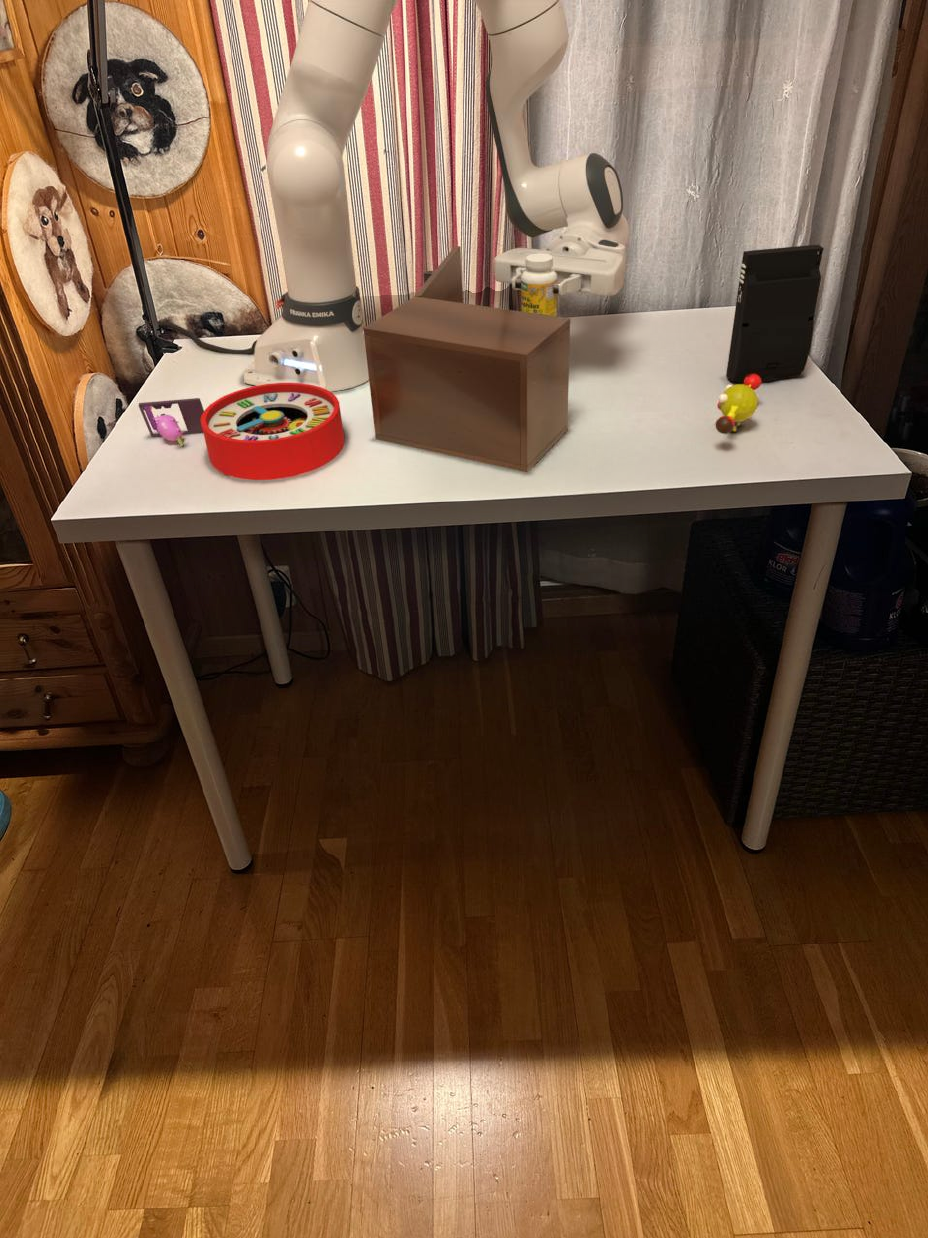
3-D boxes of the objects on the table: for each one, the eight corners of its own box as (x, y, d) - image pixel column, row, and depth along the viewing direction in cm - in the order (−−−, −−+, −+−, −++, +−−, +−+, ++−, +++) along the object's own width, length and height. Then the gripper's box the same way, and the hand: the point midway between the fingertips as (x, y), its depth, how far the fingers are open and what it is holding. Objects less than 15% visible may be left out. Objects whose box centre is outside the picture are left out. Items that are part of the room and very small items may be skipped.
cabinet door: (390, 397, 149) (380, 294, 139) (431, 340, 168) (424, 245, 158) (428, 400, 148) (420, 295, 137) (464, 341, 167) (460, 245, 156)
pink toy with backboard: (199, 394, 137) (138, 399, 137) (198, 419, 134) (135, 424, 134) (210, 426, 143) (152, 431, 142) (209, 451, 140) (149, 456, 140)
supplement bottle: (563, 320, 141) (565, 256, 135) (539, 330, 138) (540, 265, 132) (538, 312, 144) (538, 249, 138) (514, 322, 141) (513, 257, 135)
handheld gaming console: (794, 369, 151) (817, 243, 139) (806, 381, 147) (831, 251, 135) (723, 377, 150) (740, 250, 138) (733, 388, 146) (752, 259, 134)
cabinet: (423, 402, 147) (415, 296, 137) (567, 431, 137) (570, 318, 127) (375, 439, 138) (363, 328, 127) (527, 473, 128) (526, 354, 117)
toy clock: (367, 408, 133) (248, 457, 122) (371, 445, 136) (255, 495, 126) (289, 371, 145) (175, 412, 135) (295, 406, 148) (184, 448, 138)
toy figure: (730, 401, 143) (736, 359, 139) (767, 407, 141) (774, 364, 136) (697, 452, 130) (703, 407, 126) (736, 459, 128) (743, 414, 124)
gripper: (514, 232, 149) (474, 257, 139) (635, 246, 141) (601, 273, 131) (515, 272, 153) (475, 299, 143) (632, 287, 144) (599, 317, 135)
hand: (536, 287), depth 137 cm, fingers closed on supplement bottle, 5 cm apart
